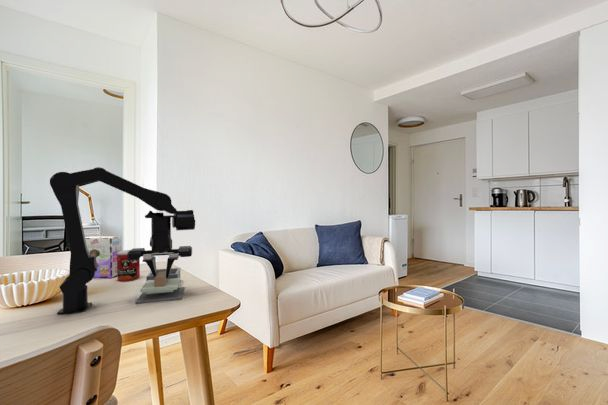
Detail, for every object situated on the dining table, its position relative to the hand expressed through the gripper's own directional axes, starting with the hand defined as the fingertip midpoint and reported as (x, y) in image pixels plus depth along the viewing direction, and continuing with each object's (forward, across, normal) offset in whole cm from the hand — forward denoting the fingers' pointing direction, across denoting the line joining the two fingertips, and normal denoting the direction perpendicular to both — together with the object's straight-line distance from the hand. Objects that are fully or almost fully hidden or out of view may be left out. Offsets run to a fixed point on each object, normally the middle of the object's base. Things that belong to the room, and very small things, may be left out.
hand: (161, 278), depth 97 cm
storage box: (+6, +1, -12) cm, 14 cm away
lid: (+4, 0, 0) cm, 4 cm away
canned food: (+6, +16, -26) cm, 32 cm away
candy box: (+6, +28, -34) cm, 45 cm away
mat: (+6, 0, 0) cm, 6 cm away
